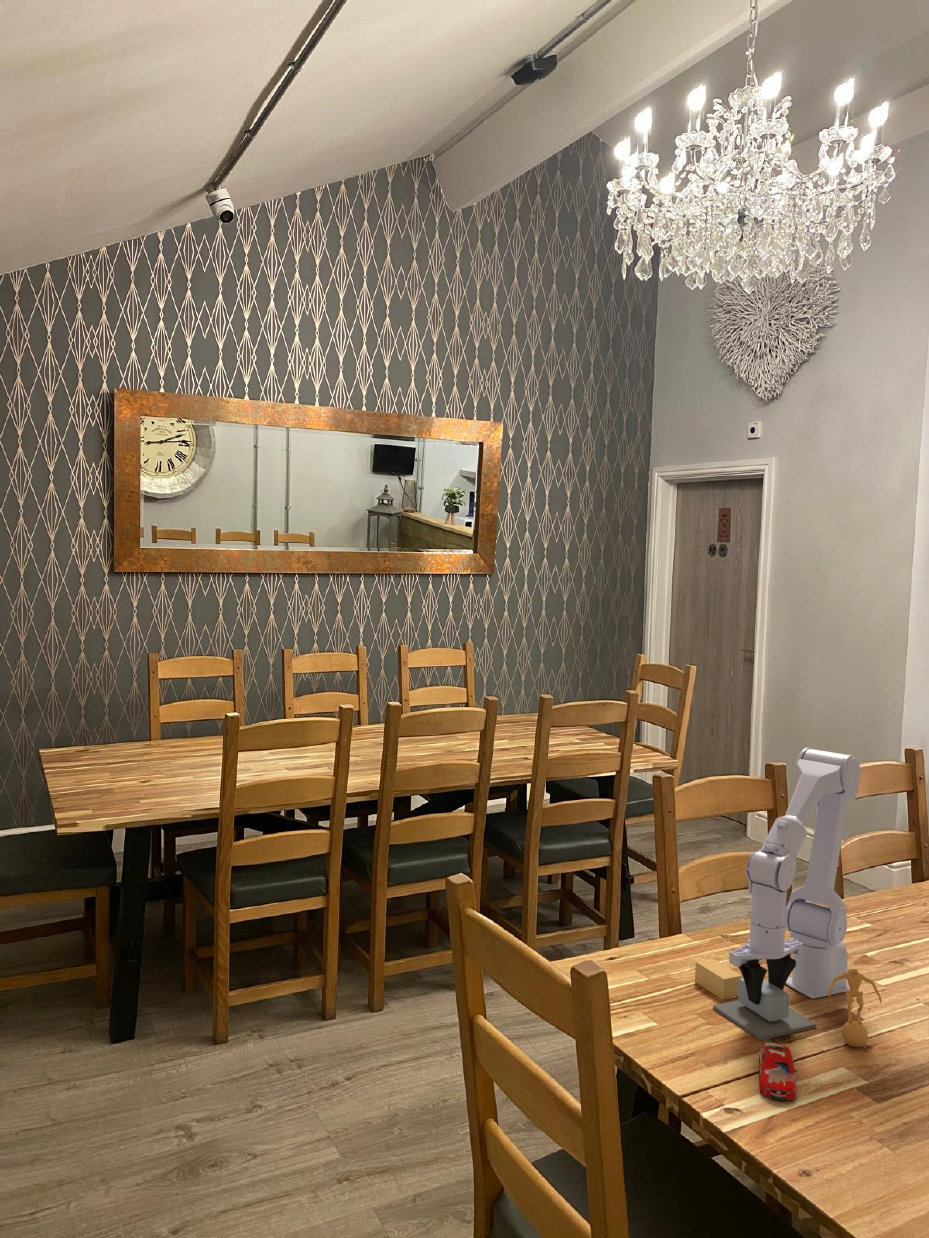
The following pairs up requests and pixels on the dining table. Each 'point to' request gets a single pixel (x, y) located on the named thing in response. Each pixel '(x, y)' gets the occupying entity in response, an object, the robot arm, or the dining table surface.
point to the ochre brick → (717, 978)
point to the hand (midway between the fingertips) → (764, 999)
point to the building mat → (763, 1021)
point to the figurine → (852, 1029)
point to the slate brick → (766, 1001)
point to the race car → (777, 1072)
